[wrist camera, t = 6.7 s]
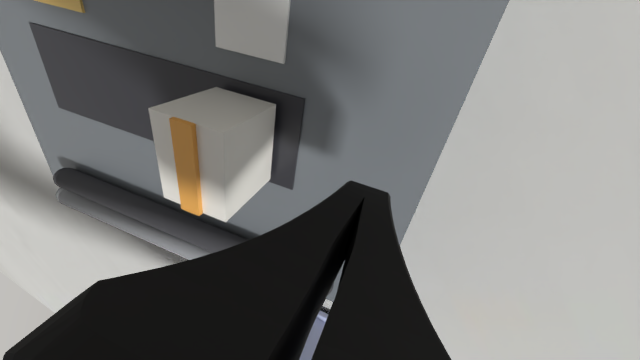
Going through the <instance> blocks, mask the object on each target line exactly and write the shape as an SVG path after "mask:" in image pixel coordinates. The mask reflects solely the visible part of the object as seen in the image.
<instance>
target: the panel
mask: <svg viewBox="0 0 640 360" xmlns="http://www.w3.org/2000/svg"><path fill="white" fill-rule="evenodd" d="M508 2H509V0H0V50H1V53H2V55H3V58H4V60H5V62H6V65H7V67H8V69H9V72H10V74H11V77H12V79H13V81H14V84H15V86H16V89H17V91H18V93H19V96H20V98H21V100H22V103H23V105H24V108H25V110H26V112H27V115H28V117H29V120H30V122H31V124H32V127H33V129H34V131H35V134H36V136H37V139H38V141H39V143H40V146H41V148H42V151H43V153H44V155H45V158H46V160H47V162H48V165H49V167H50V170H51V172H52V174H53V176H54V174H55V172H56V171H58V170H59V169H62V168H73V169H76V170H78V171H81V172H83V173H86V174H88V175H91V176H93V177H96V178H98V179H100V180H103V181H105V182H108V183H110V184H113V185H115V186H118V187H120V188H123V189H125V190H128V191H130V192H132V193H135V194H137V195H140V196H142V197H145V198H147V199H150V200H152V201H155V202H157V203H160V204H162V205H164V206H167V207H169V208H172V209H174V210H177V211H179V212H182V213H184V214H187V215H189V216H192V217H194V218H196V219H199V220H201V221H204V222H206V223H209V224H211V225H214V226H216V227H219V228H221V229H224V230H226V231H229V232H231V233H233V234H236V235H238V236H241V237H243V238H246V239H248V240H250V239H253V238H255V237H258V236H260V235H262V234H264V233H267V232H269V231H271V230H273V229H275V228H277V227H279V226H281V225H283V224H285V223H287V222H289V221H291V220H292V219H294V218H296V217H298V216H299V215H301V214H303V213H304V212H306V211H308V210H310V209H311V208H313V207H314V206H316V205H317V204H319V203H320V202H322V201H323V200H325V199H326V198H327V197H329V196H330V195H332V194H333V193H334V192H336V191H337V190H338V189H339V188H341V187H342V186H343V185H344V184H345V183H346V182H348V181H354V182H358V183H361V184H364V185H367V186H370V187H373V188H376V189H379V190H382V191H385V192H388V193H389V195H390V197H391V198H390V200H391V210H392V216H393V222H394V226H395V230H396V234H397V238H398V242H399V245H400V244H401V242H402V239H403V237H404V235H405V233H406V231H407V228H408V226H409V224H410V222H411V219H412V217H413V215H414V213H415V210H416V208H417V206H418V204H419V201H420V199H421V197H422V195H423V192H424V190H425V188H426V186H427V183H428V181H429V179H430V177H431V175H432V172H433V170H434V168H435V166H436V163H437V161H438V159H439V157H440V154H441V152H442V150H443V148H444V145H445V143H446V141H447V139H448V136H449V134H450V132H451V130H452V127H453V125H454V123H455V121H456V118H457V116H458V114H459V112H460V110H461V107H462V105H463V103H464V101H465V98H466V96H467V94H468V92H469V89H470V87H471V85H472V83H473V80H474V78H475V76H476V74H477V71H478V69H479V67H480V65H481V62H482V60H483V58H484V56H485V54H486V51H487V49H488V47H489V45H490V42H491V40H492V38H493V36H494V33H495V31H496V29H497V27H498V24H499V22H500V20H501V18H502V15H503V13H504V11H505V9H506V6H507V4H508ZM214 87H218V88H221V89H225V90H228V91H232V92H235V93H239V94H242V95H246V96H249V97H253V98H256V99H260V100H263V101H266V102H270V103H273V104H276V113H275V126H274V139H273V151H272V164H271V177H270V180H269V181H268V182H267V183H266V184H265V185H264V186H263V187H262V188H261V189H260V190H259V191H258V192H257V193H256V194H255V195H254V196H253V197H252V198H250V199H249V200H248V201H247V202H246V203H245V204H244V205H243V206H242V207H241V208H240V209H239V210H238V211H237V212H236V213H235V214H234V215H233V216H232V217H231V218H230V219H229V220H228V221H227V222H224V221H221V220H219V219H216V218H214V217H211V216H209V215H206V214H204V213H203V214H201V215H200V216H197V215H195V214H192V213H190V212H187V211H185V210H183V209H181V204H179V203H176V202H174V201H171V200H169V199H166V198H164V196H163V190H162V184H161V178H160V173H159V167H158V161H157V156H156V150H155V144H154V138H153V133H152V127H151V121H150V115H149V110H148V108H151V107H154V106H157V105H160V104H163V103H167V102H170V101H173V100H176V99H179V98H182V97H186V96H189V95H192V94H195V93H198V92H202V91H205V90H208V89H211V88H214ZM344 262H345V261H344ZM343 266H344V263H343V265H342V267H341V269H340V271H339V273H338V275H337V277H336V279H335V281H334V286H333V290H332V292H331V293H330V294H329V295H328V296H327V297H326V299H328V300H330V301H332V302H334V299H335V296H336V293H337V289H338V285H339V281H340V277H341V274H342V270H343Z"/></svg>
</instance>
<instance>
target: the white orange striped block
mask: <svg viewBox="0 0 640 360" xmlns="http://www.w3.org/2000/svg"><path fill="white" fill-rule="evenodd" d="M148 110H149V115H150V121H151V127H152V133H153V138H154V144H155V150H156V156H157V161H158V167H159V173H160V178H161V184H162V190H163V196H164V198H166V199H169V200H171V201H174V202H176V203H179V204H181V209H183V210H185V211H187V212H190V213H192V214H195V215H197V216H200V215H201V214H203V213H204V214H206V215H209V216H211V217H214V218H216V219H219V220H221V221H224V222H227V221H228V220H229V219H230V218H231V217H232V216H233V215H234V214H235V213H236V212H237V211H238V210H239V209H240V208H241V207H242V206H243V205H244V204H245V203H246V202H247V201H248V200H249V199H250V198H252V197H253V196H254V195H255V194H256V193H257V192H258V191H259V190H260V189H261V188H262V187H263V186H264V185H265V184H266V183H267V182H268V181H269V180H270V177H271V164H272V151H273V139H274V126H275V113H276V104H273V103H270V102H266V101H263V100H260V99H256V98H253V97H249V96H246V95H242V94H239V93H235V92H232V91H228V90H225V89H221V88H218V87H214V88H211V89H208V90H205V91H202V92H198V93H195V94H192V95H189V96H186V97H182V98H179V99H176V100H173V101H170V102H167V103H163V104H160V105H157V106H154V107H151V108H148Z"/></svg>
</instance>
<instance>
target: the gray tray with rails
mask: <svg viewBox="0 0 640 360" xmlns="http://www.w3.org/2000/svg"><path fill="white" fill-rule="evenodd" d="M53 180H54V182H55V184H56V185H57V186H59V187H61V188H60V189H59V190H58V191H57V193H56V198H57V200H58V201H59V202H60V203H62V204H64V205H66V206H69V207H71V208H73V209H75V210H78V211H80V212H82V213H84V214H87V215H89V216H91V217H93V218H96V219H98V220H100V221H102V222H105V223H107V224H109V225H111V226H114V227H116V228H118V229H120V230H123V231H125V232H127V233H129V234H132V235H134V236H136V237H138V238H141V239H143V240H145V241H147V242H150V243H152V244H154V245H156V246H159V247H161V248H163V249H165V250H168V251H170V252H172V253H174V254H177V255H179V256H181V257H183V258H186V259H188V260H191V259H195V258H198V257H201V256H205V255H208V254H211V253H215V252H218V251H221V250H224V249H227V248H229V247H232V246H235V245H238V244H240V243H243V242H245V241H248V239H246V238H243V237H241V236H238V235H236V234H233V233H231V232H229V231H226V230H224V229H221V228H219V227H216V226H214V225H211V224H209V223H206V222H204V221H201V220H199V219H196V218H194V217H192V216H189V215H187V214H184V213H182V212H179V211H177V210H174V209H172V208H169V207H167V206H164V205H162V204H160V203H157V202H155V201H152V200H150V199H147V198H145V197H142V196H140V195H137V194H135V193H132V192H130V191H128V190H125V189H123V188H120V187H118V186H115V185H113V184H110V183H108V182H105V181H103V180H100V179H98V178H96V177H93V176H91V175H88V174H86V173H83V172H81V171H78V170H76V169H73V168H62V169H59V170H58V171H56V172H55V174H54V176H53ZM333 286H334V283H333V285H332V287H331V289H330V291H329V293H328V295H329V294H330V293H331V292H332V290H333ZM328 295H327V296H328Z"/></svg>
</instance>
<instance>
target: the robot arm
mask: <svg viewBox="0 0 640 360" xmlns="http://www.w3.org/2000/svg"><path fill="white" fill-rule="evenodd" d="M390 198H391V197H390V195H389V193H388V192H385V191H382V190H379V189H376V188H373V187H370V186H367V185H364V184H361V183H358V182H354V181H348V182H346V183H345V184H344V185H343V186H342V187H341V188H339V189H338V190H337V191H336V192H334V193H333V194H332V195H330V196H329V197H327V198H326V199H325V200H323V201H322V202H320V203H319V204H317V205H316V206H314V207H313V208H311V209H310V210H308V211H306V212H304V213H303V214H301V215H299V216H298V217H296V218H294V219H292V220H291V221H289V222H287V223H285V224H283V225H281V226H279V227H277V228H275V229H273V230H271V231H269V232H267V233H264V234H262V235H260V236H258V237H255V238H253V239H250V240H248V241H245V242H243V243H240V244H238V245H235V246H232V247H229V248H227V249H224V250H221V251H218V252H215V253H211V254H208V255H205V256H201V257H198V258H195V259H191V260H188V261H184V262H181V263H177V264H173V265H169V266H165V267H161V268H157V269H152V270H147V271H143V272H138V273H134V274H129V275H124V276H120V277H115V278H110V279H105V280H100V281H98V282H96V283H95V284H93V285H92V286H91V287H89V288H88V289H86V290H85V291H84V292H82V293H81V294H80V295H78V296H77V297H76V298H74V299H73V300H72V301H71V302H69V303H68V304H67V305H65V306H64V307H63V308H62V309H60V310H59V311H58V312H57V313H55V314H54V315H53V316H51V317H50V318H49V319H48V320H46V321H45V322H44V323H43V324H41V325H40V326H39V327H37V328H36V329H35V330H34V331H32V332H31V333H30V334H29V335H27V336H26V337H25V338H23V339H22V340H21V341H20V342H18V343H17V344H16V345H15V346H13V347H12V348H11V349H9V350H8V351H7V352H6V353H5V355H4V357H3V360H451V358H450V357H449V355H448V353H447V351H446V349H445V348H444V346H443V344H442V342H441V340H440V339H439V337H438V335H437V333H436V331H435V330H434V328H433V326H432V324H431V322H430V320H429V318H428V316H427V314H426V311H425V309H424V307H423V305H422V303H421V301H420V299H419V296H418V294H417V292H416V290H415V287H414V285H413V282H412V280H411V277H410V275H409V272H408V269H407V267H406V264H405V261H404V258H403V255H402V252H401V249H400V245H399V242H398V238H397V234H396V230H395V226H394V222H393V216H392V210H391V200H390ZM344 261H345V262H344ZM343 263H344V266H343V270H342V274H341V277H340V281H339V285H338V289H337V293H336V296H335V299H334V302H333V304H332V307H331V309H330V312H329V314H327V313H325V312H323V311H320V309H321V307H322V305H323V303H324V301H325V299H326V297H327V295H328V293H329V291H330V289H331V287H332V285H333V283H334V281H335V279H336V277H337V275H338V273H339V271H340V269H341V267H342V265H343Z"/></svg>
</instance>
